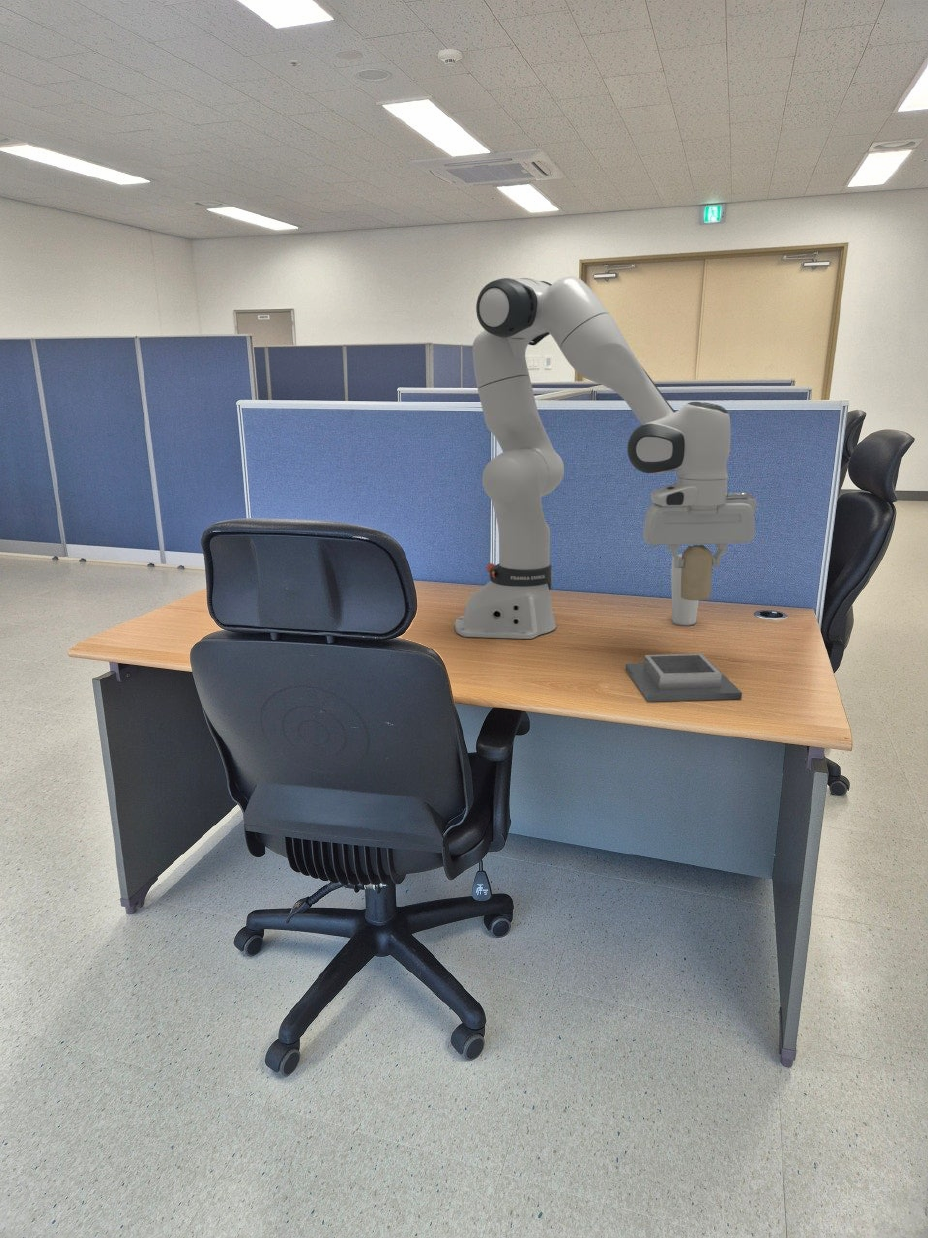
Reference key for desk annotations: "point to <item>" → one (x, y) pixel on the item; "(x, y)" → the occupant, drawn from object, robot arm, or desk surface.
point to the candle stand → (681, 679)
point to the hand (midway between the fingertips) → (696, 567)
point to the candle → (696, 573)
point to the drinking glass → (681, 601)
